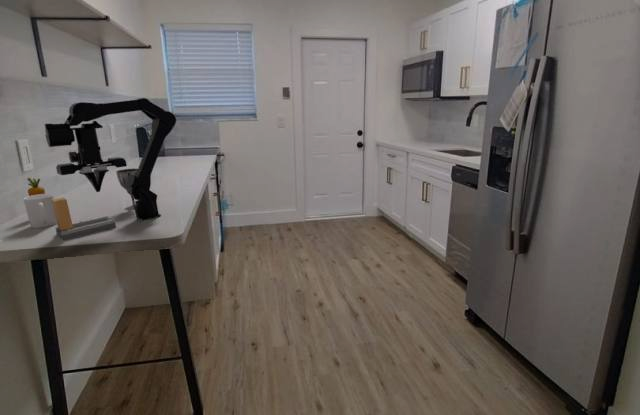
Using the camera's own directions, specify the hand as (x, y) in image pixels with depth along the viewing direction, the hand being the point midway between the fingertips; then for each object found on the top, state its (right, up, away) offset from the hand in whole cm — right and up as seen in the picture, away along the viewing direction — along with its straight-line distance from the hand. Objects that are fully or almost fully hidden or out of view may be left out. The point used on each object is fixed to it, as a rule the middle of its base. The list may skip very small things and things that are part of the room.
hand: (98, 191), depth 121 cm
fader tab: (-7, -12, -5) cm, 15 cm away
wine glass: (-1, -5, +26) cm, 26 cm away
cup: (-22, -12, +7) cm, 26 cm away
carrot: (-32, -9, +18) cm, 38 cm away
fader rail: (-3, -13, -1) cm, 13 cm away
